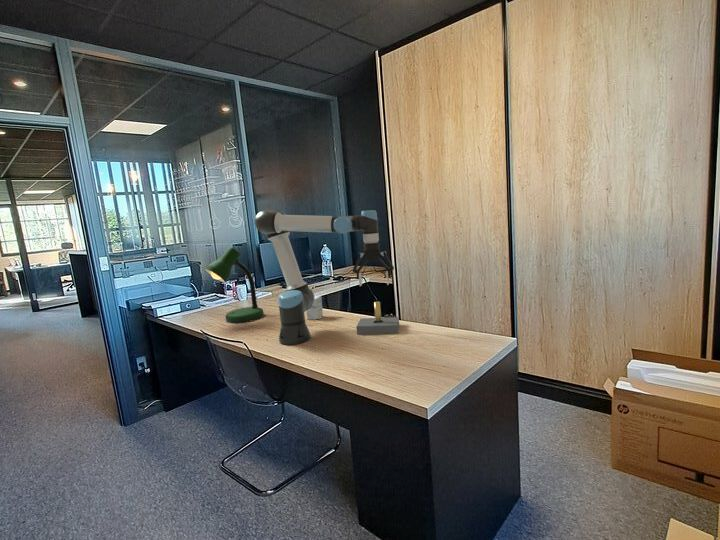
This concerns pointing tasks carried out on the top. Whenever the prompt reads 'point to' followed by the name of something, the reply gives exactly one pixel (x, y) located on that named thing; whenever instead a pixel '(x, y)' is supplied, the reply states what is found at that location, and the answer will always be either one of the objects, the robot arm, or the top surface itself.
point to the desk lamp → (222, 272)
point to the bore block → (378, 325)
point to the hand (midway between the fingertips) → (374, 285)
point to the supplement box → (315, 309)
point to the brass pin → (377, 312)
